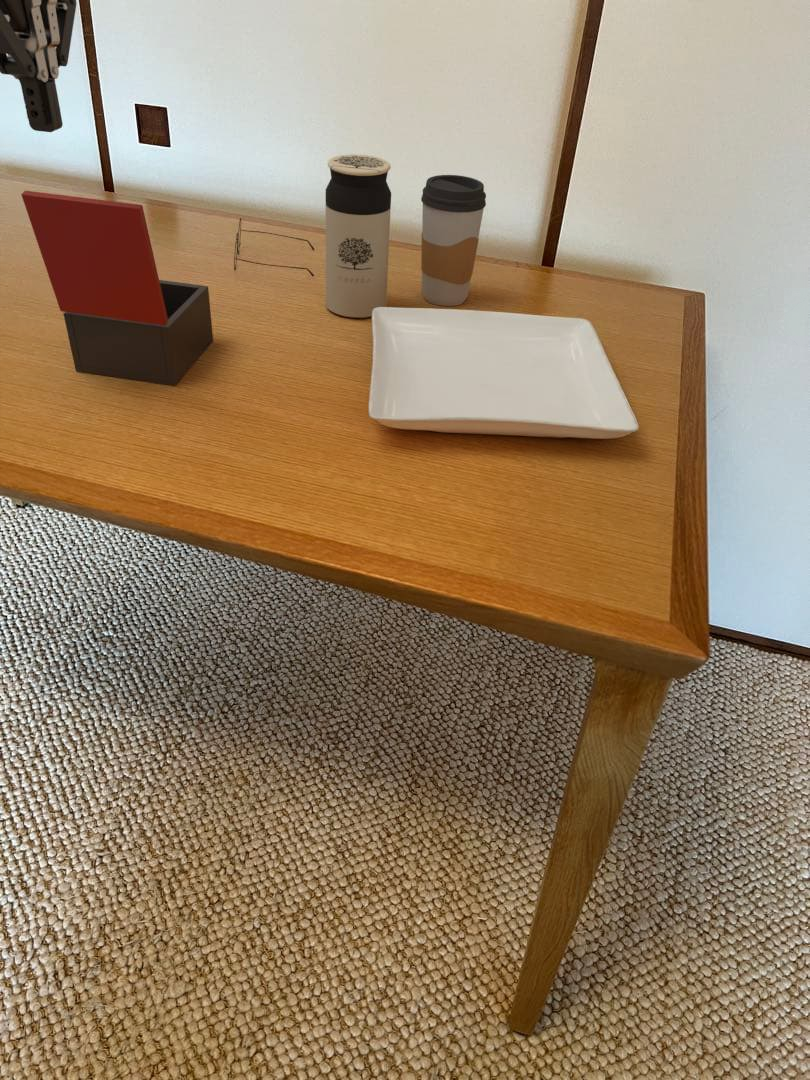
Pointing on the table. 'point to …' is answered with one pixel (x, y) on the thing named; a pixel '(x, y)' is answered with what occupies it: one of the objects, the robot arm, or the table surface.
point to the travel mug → (357, 235)
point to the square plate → (494, 375)
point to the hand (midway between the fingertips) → (46, 129)
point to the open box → (145, 339)
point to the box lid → (97, 256)
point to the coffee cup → (450, 236)
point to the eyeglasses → (260, 263)
